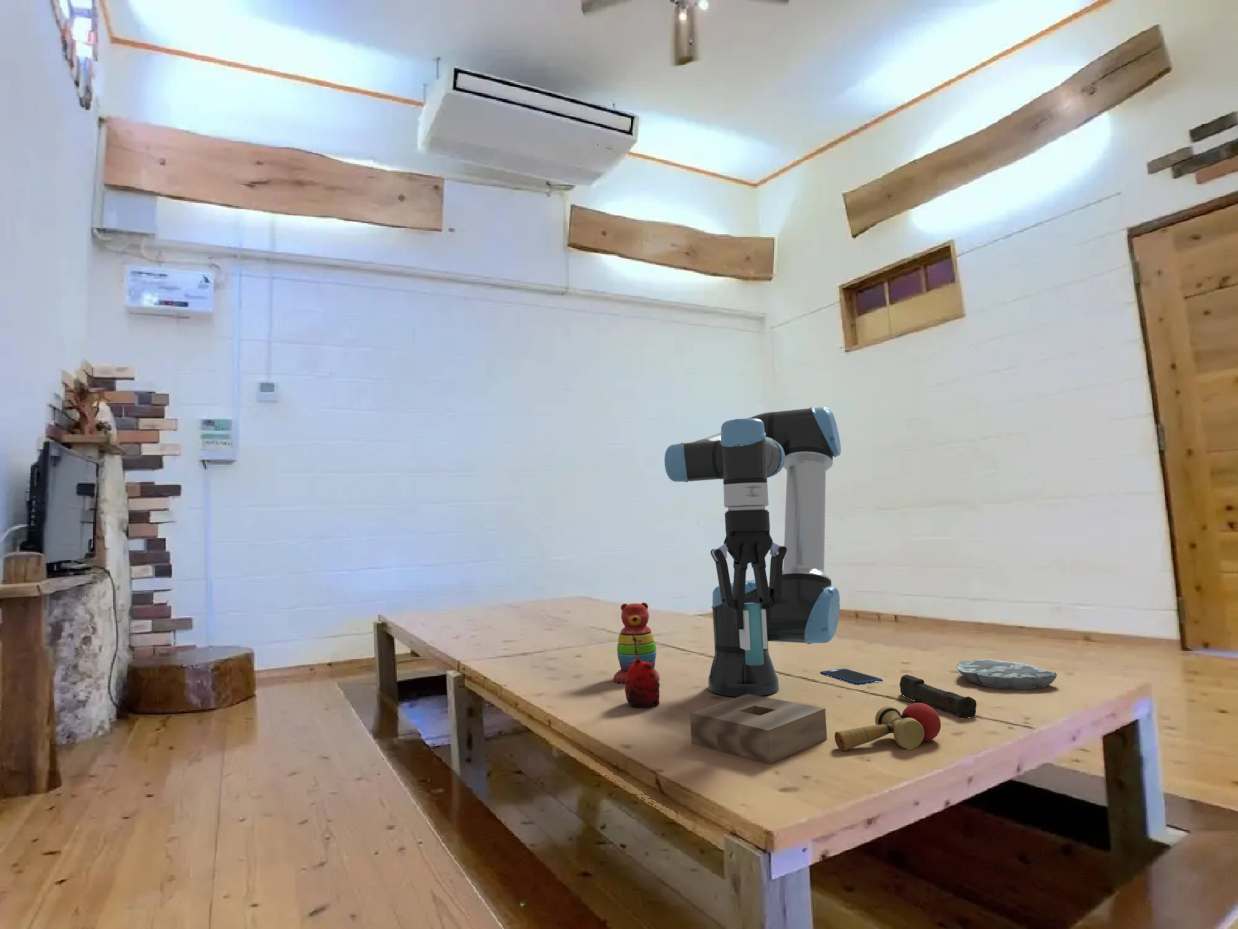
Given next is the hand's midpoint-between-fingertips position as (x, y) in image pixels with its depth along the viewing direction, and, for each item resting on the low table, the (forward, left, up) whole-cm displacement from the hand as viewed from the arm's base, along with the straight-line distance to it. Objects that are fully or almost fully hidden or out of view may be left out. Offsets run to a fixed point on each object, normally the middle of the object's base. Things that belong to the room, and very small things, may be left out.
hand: (753, 647), depth 120 cm
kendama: (+17, +12, -16) cm, 26 cm away
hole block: (0, 0, -15) cm, 15 cm away
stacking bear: (-50, +20, -16) cm, 56 cm away
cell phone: (-12, +51, -16) cm, 55 cm away
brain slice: (+15, +66, -16) cm, 70 cm away
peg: (0, 0, -3) cm, 3 cm away
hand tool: (+12, +38, -16) cm, 43 cm away
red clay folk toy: (-32, +4, -16) cm, 36 cm away
